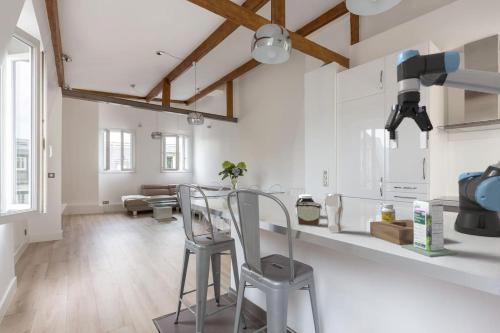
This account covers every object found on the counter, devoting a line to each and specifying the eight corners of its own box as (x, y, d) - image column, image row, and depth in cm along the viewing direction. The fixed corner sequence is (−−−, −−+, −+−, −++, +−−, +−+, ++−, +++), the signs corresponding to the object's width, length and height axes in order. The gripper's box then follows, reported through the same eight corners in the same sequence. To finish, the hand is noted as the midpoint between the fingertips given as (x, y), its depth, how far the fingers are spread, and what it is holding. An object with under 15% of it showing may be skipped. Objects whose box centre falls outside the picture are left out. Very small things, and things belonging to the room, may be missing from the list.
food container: (326, 224, 122) (325, 202, 123) (321, 227, 117) (321, 204, 117) (300, 222, 129) (300, 201, 129) (295, 224, 124) (295, 202, 124)
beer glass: (344, 233, 105) (344, 195, 105) (326, 232, 107) (325, 195, 107) (342, 229, 112) (341, 193, 112) (325, 229, 114) (324, 193, 114)
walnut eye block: (409, 231, 106) (408, 219, 107) (442, 240, 93) (442, 226, 93) (370, 235, 102) (370, 222, 102) (399, 245, 88) (399, 230, 88)
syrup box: (412, 246, 85) (412, 200, 85) (427, 244, 86) (426, 199, 86) (429, 251, 79) (428, 202, 79) (444, 250, 81) (443, 201, 81)
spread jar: (297, 218, 139) (297, 196, 139) (293, 214, 150) (293, 194, 150) (320, 218, 139) (320, 195, 139) (315, 214, 150) (314, 193, 150)
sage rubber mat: (426, 244, 89) (426, 242, 89) (456, 253, 79) (456, 251, 79) (401, 247, 86) (401, 245, 86) (429, 256, 77) (429, 254, 77)
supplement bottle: (398, 226, 117) (397, 204, 117) (389, 227, 115) (389, 205, 115) (387, 224, 122) (386, 203, 122) (379, 225, 120) (378, 203, 120)
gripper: (426, 97, 109) (427, 149, 109) (373, 93, 103) (374, 149, 103) (443, 92, 102) (444, 148, 102) (388, 88, 96) (389, 147, 95)
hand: (409, 148), depth 102 cm, fingers open, 13 cm apart
